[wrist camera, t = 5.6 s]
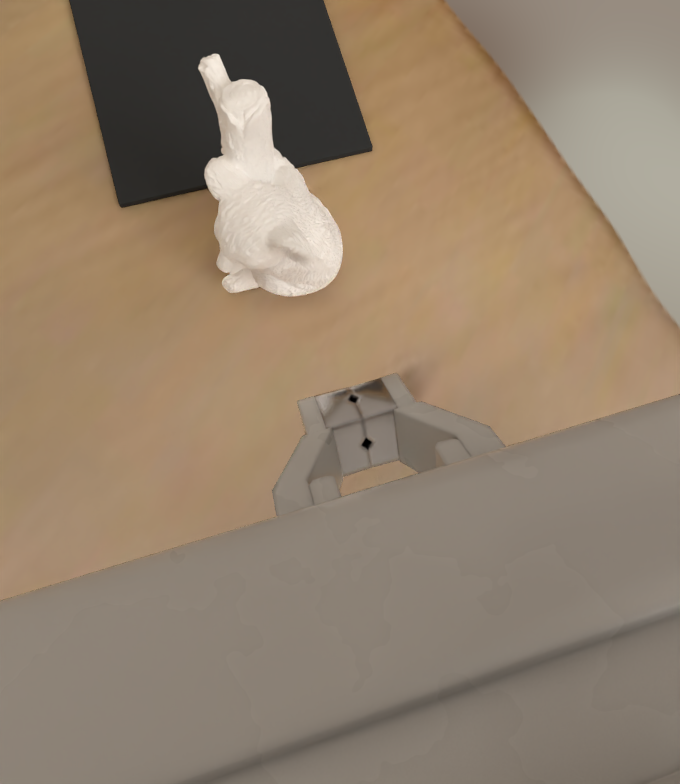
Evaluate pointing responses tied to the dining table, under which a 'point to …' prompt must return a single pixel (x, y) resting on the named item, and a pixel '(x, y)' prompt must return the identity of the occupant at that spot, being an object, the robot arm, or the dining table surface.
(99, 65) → the mat
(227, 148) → the white animal figurine
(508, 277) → the dining table surface
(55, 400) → the dining table surface
